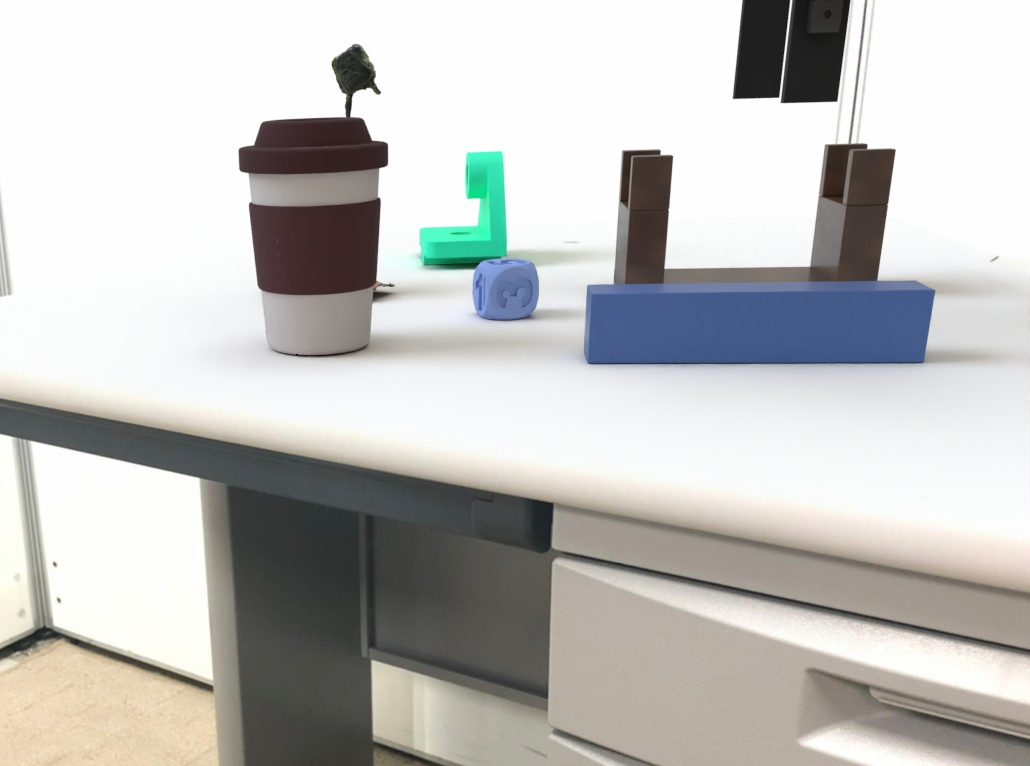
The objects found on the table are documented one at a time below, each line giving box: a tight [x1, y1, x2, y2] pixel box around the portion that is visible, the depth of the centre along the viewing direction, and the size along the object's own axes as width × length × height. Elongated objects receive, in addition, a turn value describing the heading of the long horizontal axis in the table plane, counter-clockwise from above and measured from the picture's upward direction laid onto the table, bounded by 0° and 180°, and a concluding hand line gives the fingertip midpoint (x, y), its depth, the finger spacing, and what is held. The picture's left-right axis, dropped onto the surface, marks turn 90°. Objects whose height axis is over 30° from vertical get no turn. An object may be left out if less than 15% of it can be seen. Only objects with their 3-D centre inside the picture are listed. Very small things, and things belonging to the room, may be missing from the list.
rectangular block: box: [583, 279, 936, 364], centre depth 75 cm, size 20×4×4 cm, turn 81°
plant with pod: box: [331, 43, 395, 292], centre depth 100 cm, size 8×11×20 cm
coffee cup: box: [237, 116, 389, 356], centre depth 81 cm, size 10×10×15 cm
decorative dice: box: [472, 258, 540, 321], centre depth 91 cm, size 4×4×4 cm
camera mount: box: [419, 150, 508, 266], centre depth 118 cm, size 12×8×10 cm, turn 178°
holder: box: [613, 142, 897, 284], centre depth 96 cm, size 19×9×11 cm, turn 81°
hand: (779, 101), depth 70 cm, fingers open, 13 cm apart
